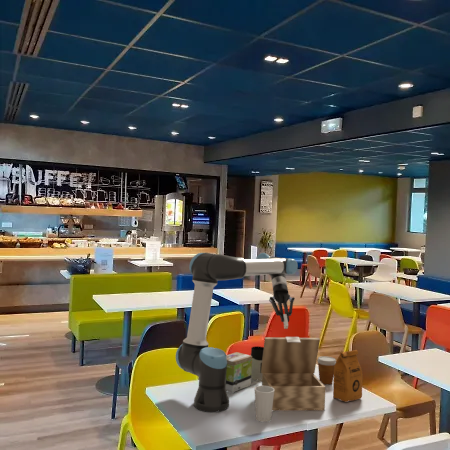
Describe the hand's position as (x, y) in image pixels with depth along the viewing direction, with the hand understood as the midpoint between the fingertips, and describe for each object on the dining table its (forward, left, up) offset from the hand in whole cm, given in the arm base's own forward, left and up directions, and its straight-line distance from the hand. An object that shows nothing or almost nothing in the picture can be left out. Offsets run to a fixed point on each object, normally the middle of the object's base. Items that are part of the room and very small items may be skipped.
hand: (286, 327), depth 224 cm
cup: (-16, -33, -30) cm, 47 cm away
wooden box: (0, -16, -30) cm, 34 cm away
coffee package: (+27, -12, -30) cm, 42 cm away
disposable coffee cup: (+24, +10, -30) cm, 40 cm away
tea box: (-24, +4, -30) cm, 38 cm away
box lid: (0, -13, -12) cm, 17 cm away
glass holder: (-8, +15, -30) cm, 35 cm away
